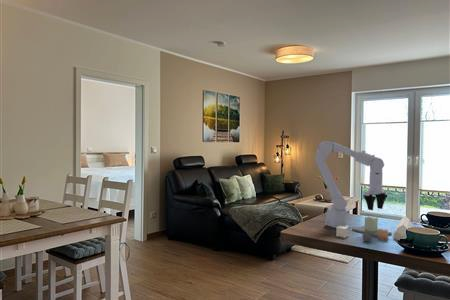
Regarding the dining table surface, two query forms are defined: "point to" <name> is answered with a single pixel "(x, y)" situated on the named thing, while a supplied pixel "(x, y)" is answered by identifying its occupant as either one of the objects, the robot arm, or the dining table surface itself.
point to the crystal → (402, 228)
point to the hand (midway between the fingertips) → (375, 209)
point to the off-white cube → (342, 231)
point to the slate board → (362, 230)
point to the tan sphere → (382, 234)
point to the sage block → (371, 224)
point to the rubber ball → (366, 237)
